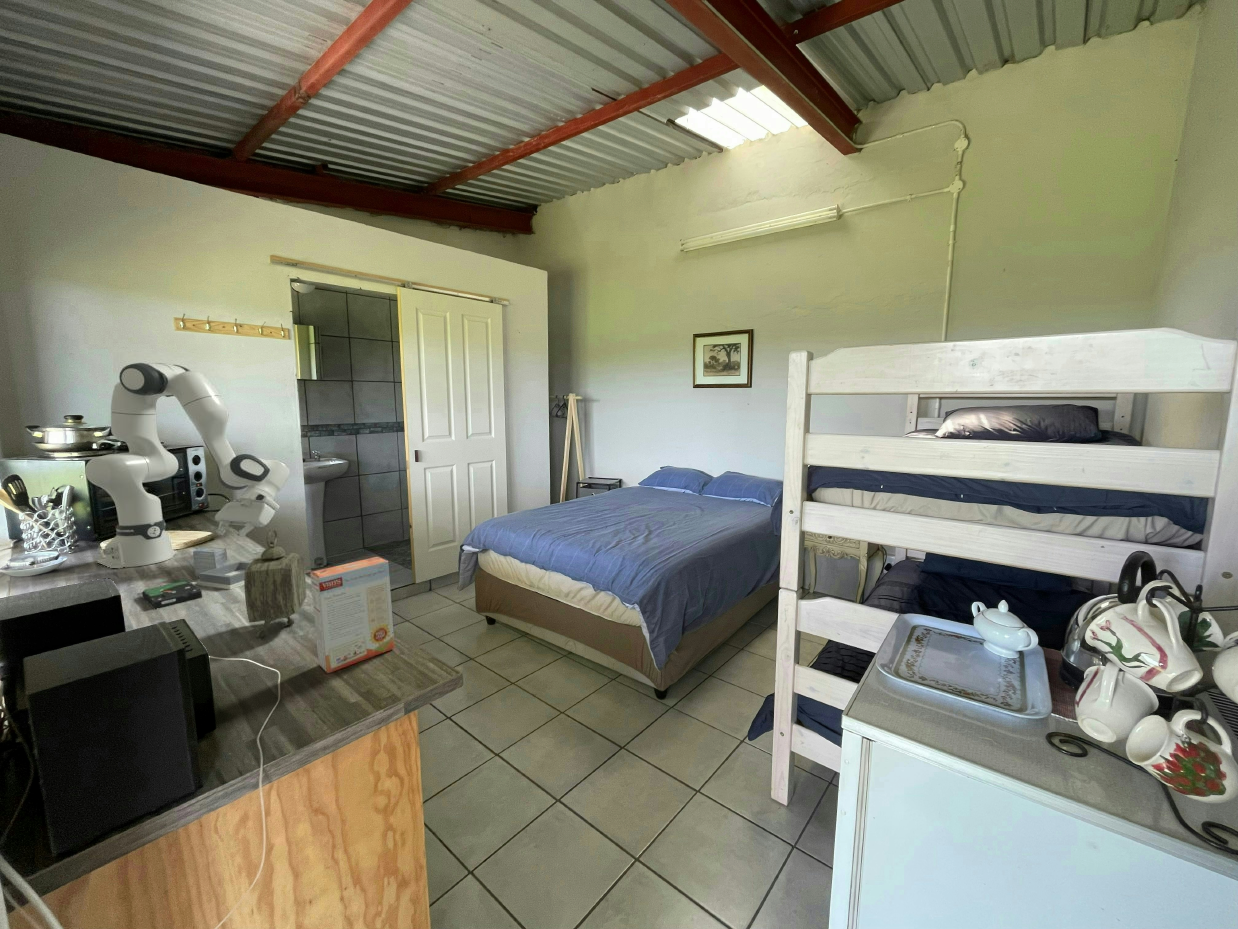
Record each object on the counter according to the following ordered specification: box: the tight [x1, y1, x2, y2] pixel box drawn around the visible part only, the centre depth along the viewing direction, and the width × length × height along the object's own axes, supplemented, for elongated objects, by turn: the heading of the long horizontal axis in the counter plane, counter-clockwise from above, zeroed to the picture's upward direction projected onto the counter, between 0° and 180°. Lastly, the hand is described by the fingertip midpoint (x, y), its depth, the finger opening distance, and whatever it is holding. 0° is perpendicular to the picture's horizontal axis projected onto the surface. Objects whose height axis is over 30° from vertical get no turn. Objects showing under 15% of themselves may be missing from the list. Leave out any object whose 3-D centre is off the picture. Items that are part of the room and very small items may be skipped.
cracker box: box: [310, 556, 395, 674], centre depth 105 cm, size 14×6×21 cm, turn 138°
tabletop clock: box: [243, 528, 307, 639], centre depth 120 cm, size 14×9×25 cm, turn 21°
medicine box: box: [192, 546, 229, 577], centre depth 158 cm, size 8×4×9 cm, turn 84°
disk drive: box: [141, 579, 203, 610], centre depth 140 cm, size 10×3×15 cm
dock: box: [195, 560, 252, 590], centre depth 154 cm, size 14×14×4 cm
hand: (229, 534), depth 163 cm, fingers open, 8 cm apart
